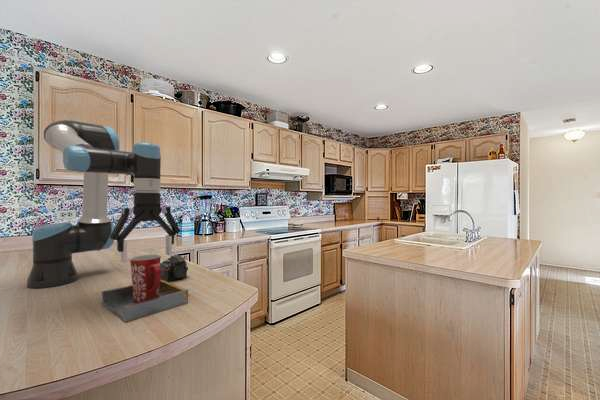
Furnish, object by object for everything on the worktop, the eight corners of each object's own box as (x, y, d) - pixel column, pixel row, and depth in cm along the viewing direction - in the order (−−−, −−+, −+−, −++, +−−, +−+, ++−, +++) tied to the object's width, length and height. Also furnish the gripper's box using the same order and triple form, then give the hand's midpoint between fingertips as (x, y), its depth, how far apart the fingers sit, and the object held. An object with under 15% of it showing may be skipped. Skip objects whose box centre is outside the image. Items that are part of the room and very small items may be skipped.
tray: (101, 304, 88) (101, 291, 88) (159, 289, 102) (159, 278, 102) (125, 322, 76) (125, 307, 76) (188, 302, 90) (187, 290, 90)
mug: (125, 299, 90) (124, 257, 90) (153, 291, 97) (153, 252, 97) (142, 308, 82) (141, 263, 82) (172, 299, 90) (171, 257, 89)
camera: (172, 285, 107) (172, 259, 107) (151, 283, 110) (150, 258, 110) (194, 275, 120) (193, 252, 120) (174, 274, 123) (174, 251, 123)
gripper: (105, 191, 77) (106, 267, 78) (190, 192, 97) (190, 253, 97) (97, 191, 82) (97, 263, 83) (179, 192, 101) (179, 250, 102)
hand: (147, 258), depth 90 cm, fingers open, 13 cm apart
